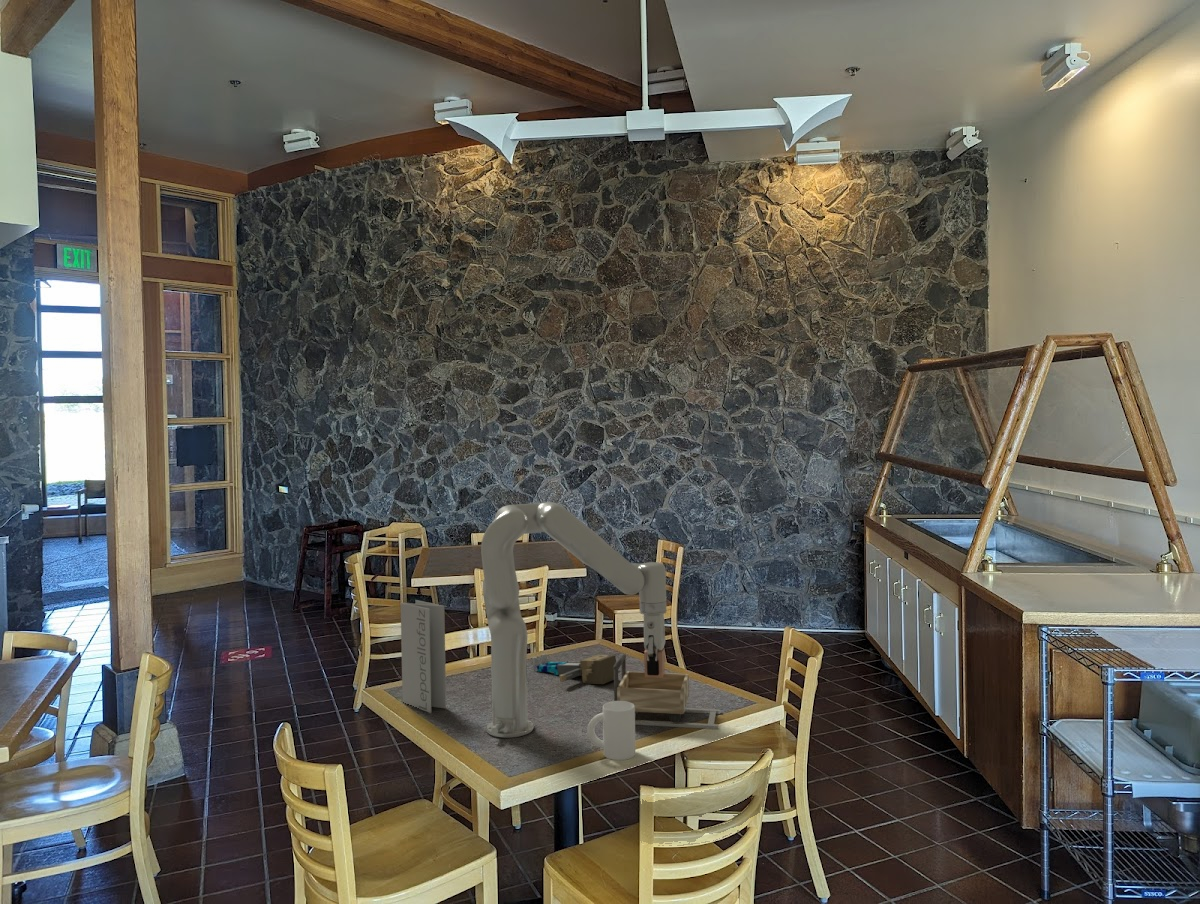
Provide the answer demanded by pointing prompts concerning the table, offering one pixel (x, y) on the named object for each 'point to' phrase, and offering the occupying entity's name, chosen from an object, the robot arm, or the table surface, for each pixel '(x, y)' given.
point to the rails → (689, 725)
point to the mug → (615, 730)
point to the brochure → (423, 655)
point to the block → (661, 664)
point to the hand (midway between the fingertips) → (654, 671)
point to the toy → (580, 668)
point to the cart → (652, 691)
